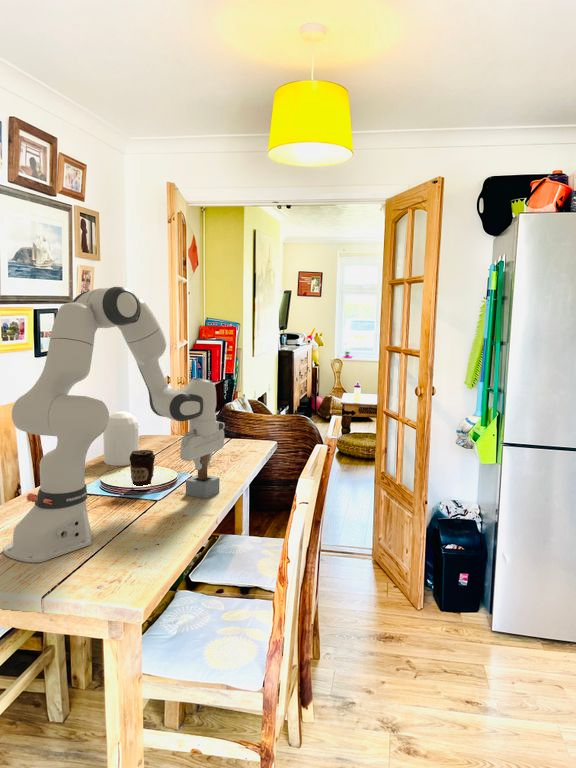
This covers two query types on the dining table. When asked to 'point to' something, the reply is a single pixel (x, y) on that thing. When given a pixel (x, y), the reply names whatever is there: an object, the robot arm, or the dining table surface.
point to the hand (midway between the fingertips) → (202, 467)
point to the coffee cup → (142, 467)
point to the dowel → (203, 469)
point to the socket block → (202, 486)
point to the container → (120, 438)
